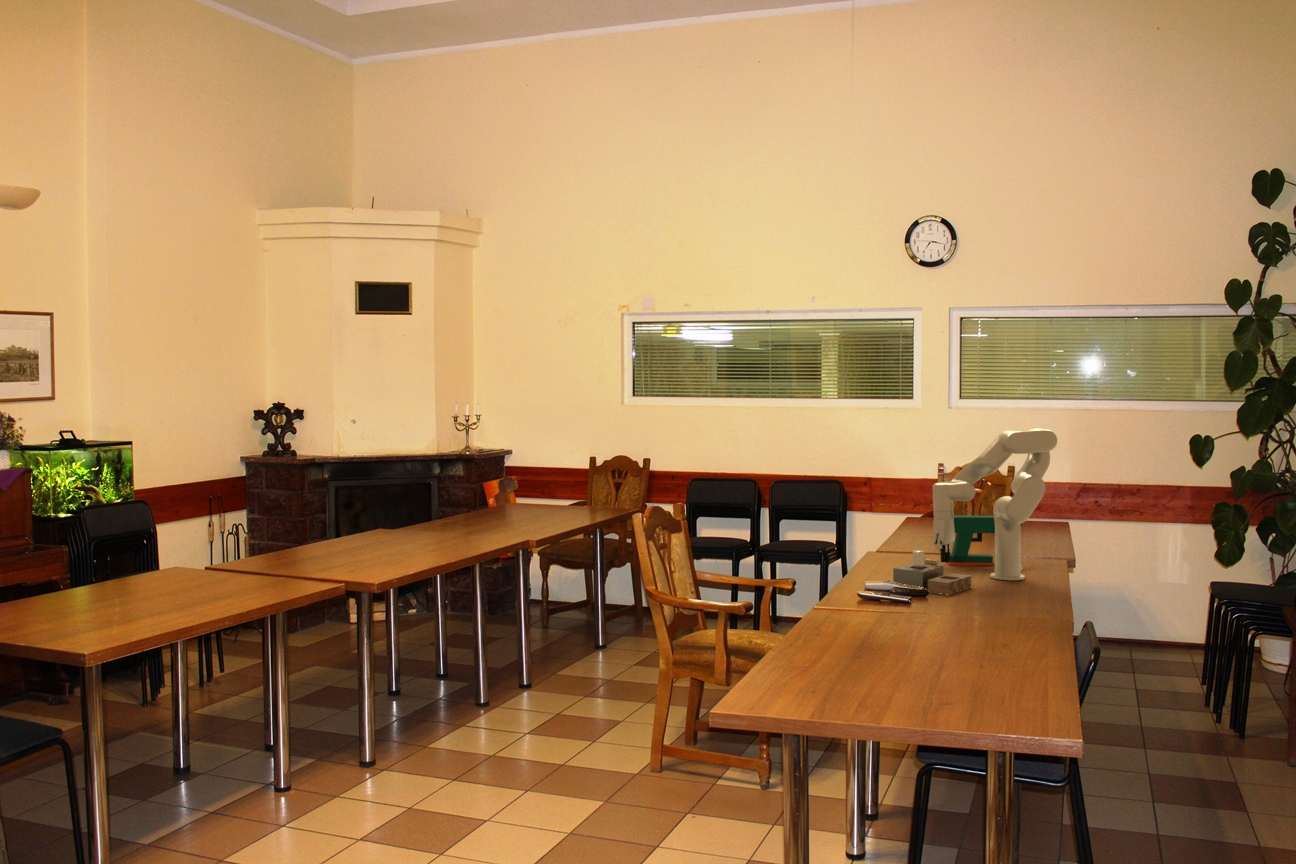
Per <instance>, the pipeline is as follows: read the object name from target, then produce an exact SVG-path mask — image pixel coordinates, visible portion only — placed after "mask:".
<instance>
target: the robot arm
mask: <svg viewBox="0 0 1296 864" xmlns="http://www.w3.org/2000/svg"><path fill="white" fill-rule="evenodd" d="M1057 444H1058V437H1057V435H1056V434H1055V432H1054V431H1052V430H1050V429H1046V428H1045V429H1043V428H1037V427H1036V428H1035V427H1034V428H1031V429H1029V430H1025V431H1024V430H1023V431H1017V430H1016V431H1015V430H1004V431H1002V432H1001V433H1000V434H998V435H997V436H996V438H994V440H993V441H992V442H991V443H990V444H989V445H988V446H987V447H986V448H985V449H984V450H983V452H981V454H979V456H977V457H976V458H975V459H973V460H972V461H971V462H970V463H968V464H967V465H966V466H964V467H963V468H962V469H961V470H960V471H958V473H956V475H955V476H954V477H953V478H952V479H951V480H950V482H936V483H934V484H933V485H932V506H933V510H932V511H933V524H932V544H933V545H936V546H937V547H936V549H939V552H940V562H941V563H946V564H947V563H948V562H950V554H951V552H952V550H951V549H952V548H951V547H952V546H953V545H954V542H955V538H956V533H955V527H954V520H953V519H954V515H955V513H954V510H955V509H954V505H955V504H954V502H956V501H957V502H969V501H971V500H973V498H974V497H975V496H976V489H975V486H974V484H975V483H977V482H978V481H979V480H981V479H982V478H985V477H987V476H989V475H992V474H994V473H996V472H997V471H998V470H999V469H1000V468H1001V467H1002V466H1003V464H1005V462H1006V461H1007V460H1008V459H1009V458H1010V457H1011V456H1012V455H1013V454H1016V455H1018V454H1019V455H1023V454H1024V455H1025V454H1027V457H1026V459H1025V461H1024V462H1023V465H1022V466H1021V467H1020V469H1019V471H1018V472H1017V474H1015V477H1014V478H1013V479H1012V481H1011V483H1010V489H1011V492H1012V493H1013V496H1009V495H1006V496H1005V495H1004V496H1002V497H1001V496H1000V497H999V498H998V499H996V501H995V502H994V504H993V509H992V511H993V512H992V513H993V515H992V516H994V522H995V533H994V570H993V571H994V572H991V573H990V574H989V575H990V578H992V579H994V580H1000V581H1001V580H1002V581H1023V580H1025V575H1024V574H1021V571H1022V570H1023V569H1024V567H1023V565H1021V560H1022V559H1021V558H1022V557H1021V556H1022V554H1021V553H1022V552H1021V551H1022V550H1021V544H1022V543H1021V542H1022V530H1021V529H1022V528H1021V526H1020V524H1024V523H1025V522H1026V521H1027V520H1029V518H1030V517H1031V515H1032V514H1033V513H1034V511H1035V510H1036V508H1037V506H1038V505H1039V503H1040V502H1041V500H1042V499H1043V498H1044V495H1045V492H1046V484H1045V481H1044V480H1043V477H1044V476H1045V474H1046V472H1047V471H1048V468H1049V467H1050V463H1051V453H1050V451H1052V450H1054V449H1055V448H1056V447H1057Z"/></svg>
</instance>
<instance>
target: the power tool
mask: <svg viewBox="0 0 1296 864" xmlns="http://www.w3.org/2000/svg"><path fill="white" fill-rule="evenodd" d="M953 520H954V527H955V541H954V542H953V545H952V548H951V549H952V550H951V552H950V562H948V564H949V565H948V564H947V565H948V566H977V565H994V566H995V561H994V556H993V555H991V554H989V553H988V554H987V553H985V554H984V553H983V554H981V553H980V554H979V553H977V554H975V553H969V552H970V548H971V545H972V543H973V542H976V543H981V542H983V534H995V522H994V515H967V514H966V515H963V514H962V515H961V514H960V515H956V514H954V519H953ZM1026 525H1027V524H1026V523H1025V524H1024V523H1021V524H1020V527H1021V526H1026ZM974 534H977V535H976V537H974Z"/></svg>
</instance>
